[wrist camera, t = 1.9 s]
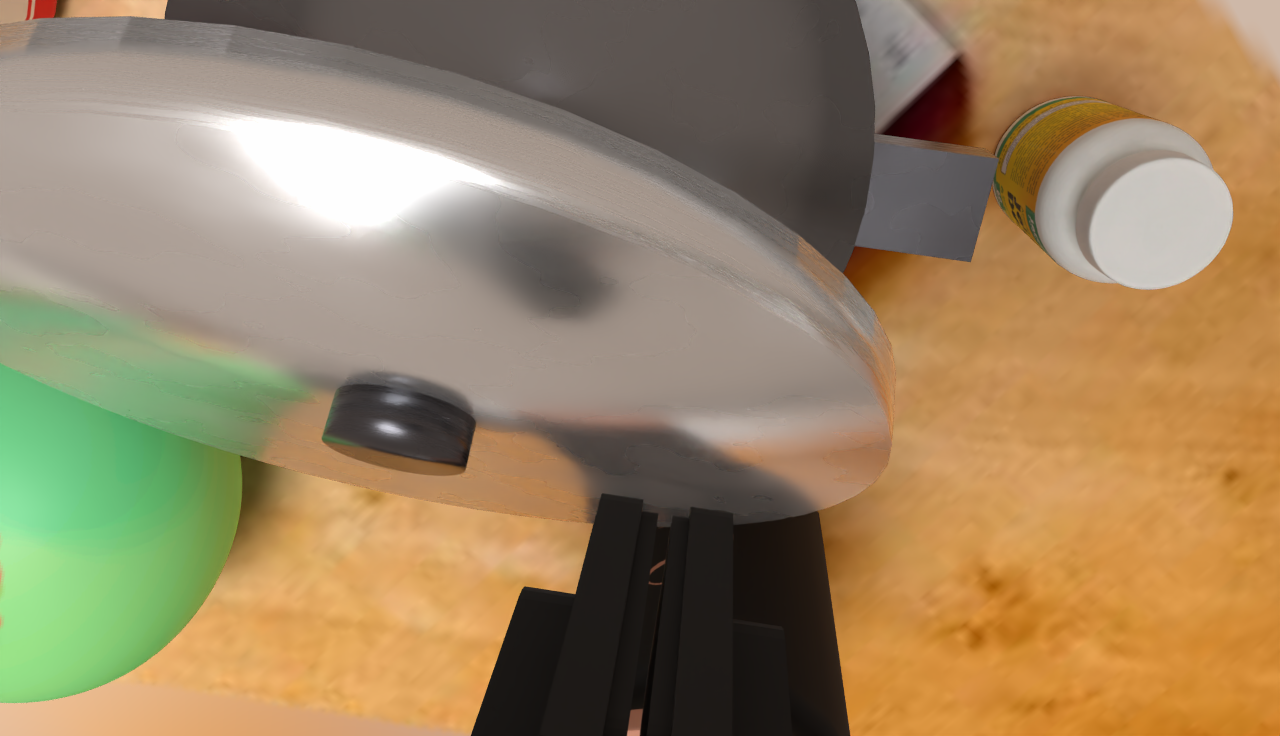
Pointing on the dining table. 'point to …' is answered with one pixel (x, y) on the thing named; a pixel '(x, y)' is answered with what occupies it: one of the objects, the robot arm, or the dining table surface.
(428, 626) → the dining table surface
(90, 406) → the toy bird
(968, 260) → the pot
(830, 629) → the coffee jar
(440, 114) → the lid
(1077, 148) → the supplement bottle
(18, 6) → the beer can
